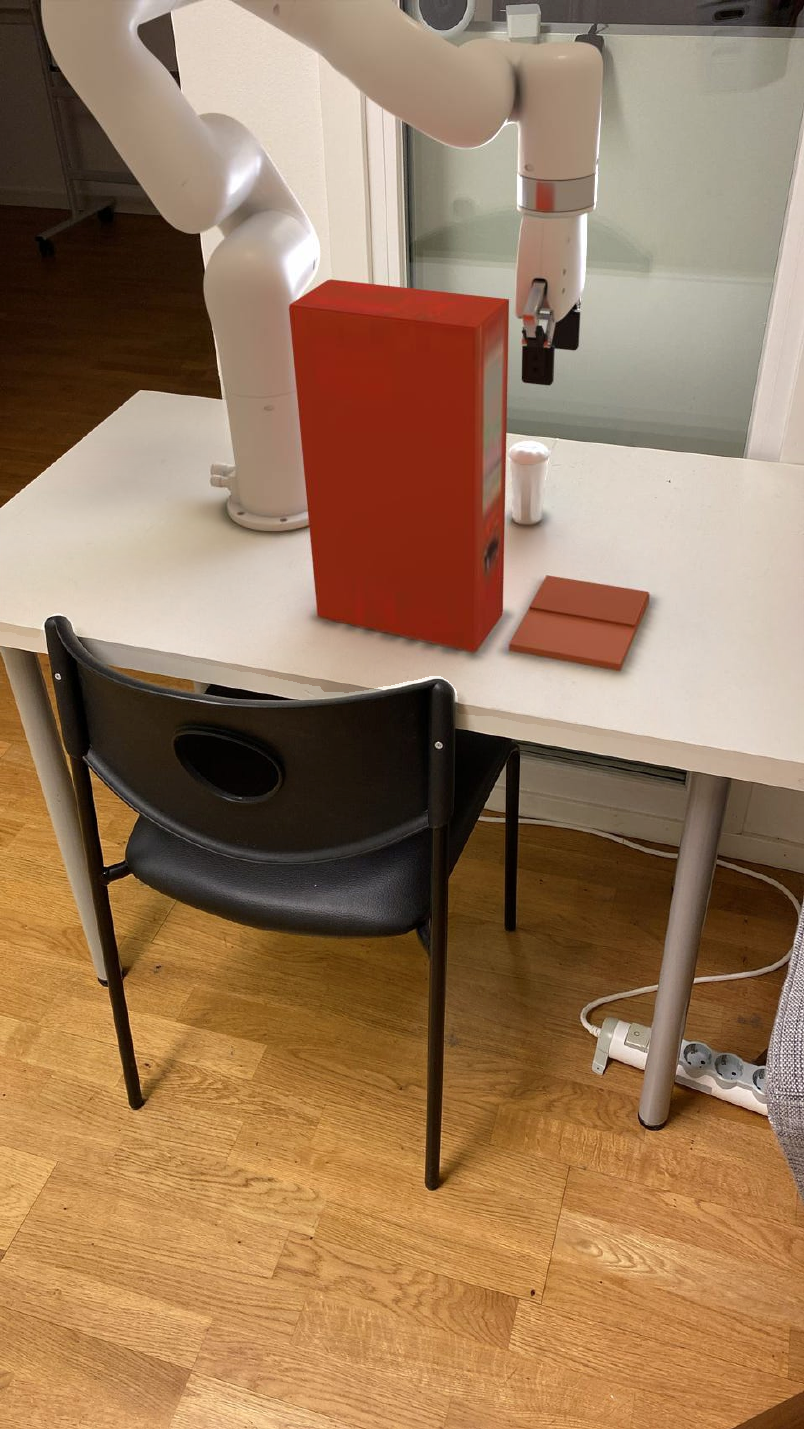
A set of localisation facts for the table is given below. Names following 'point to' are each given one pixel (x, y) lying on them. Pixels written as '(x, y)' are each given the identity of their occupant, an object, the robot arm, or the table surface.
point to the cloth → (581, 622)
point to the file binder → (404, 456)
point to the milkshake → (528, 480)
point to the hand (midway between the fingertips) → (550, 365)
